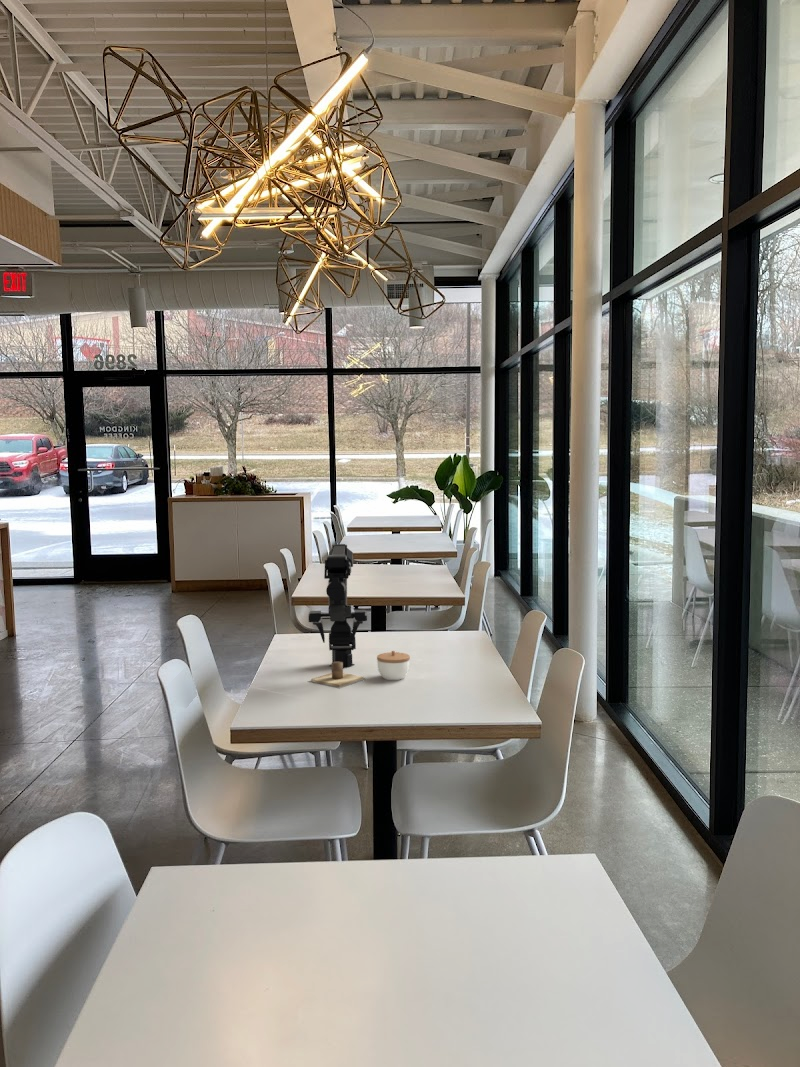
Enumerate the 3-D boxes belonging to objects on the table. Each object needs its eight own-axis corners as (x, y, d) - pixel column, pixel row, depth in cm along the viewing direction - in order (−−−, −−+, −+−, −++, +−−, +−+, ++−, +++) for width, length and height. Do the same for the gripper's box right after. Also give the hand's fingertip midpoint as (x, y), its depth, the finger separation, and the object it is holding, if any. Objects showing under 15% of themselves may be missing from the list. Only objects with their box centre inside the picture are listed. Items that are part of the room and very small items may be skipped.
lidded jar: (411, 675, 297) (411, 647, 296) (408, 683, 286) (408, 655, 286) (379, 674, 298) (379, 647, 297) (375, 683, 288) (375, 654, 287)
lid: (311, 681, 289) (311, 663, 288) (335, 673, 298) (335, 656, 298) (339, 687, 281) (339, 669, 281) (363, 679, 291) (363, 661, 290)
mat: (307, 682, 289) (307, 681, 288) (335, 673, 300) (335, 672, 300) (339, 689, 280) (339, 688, 280) (367, 680, 291) (367, 678, 291)
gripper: (307, 599, 279) (308, 648, 280) (367, 598, 280) (367, 647, 281) (308, 593, 290) (309, 640, 291) (366, 592, 291) (366, 639, 292)
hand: (338, 642), depth 289 cm, fingers open, 9 cm apart
